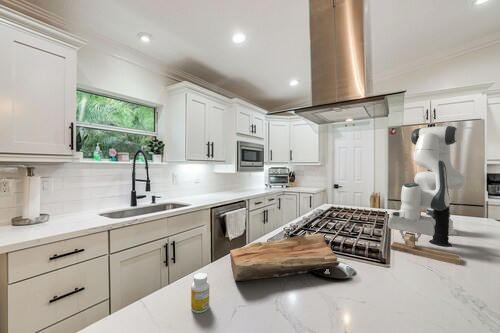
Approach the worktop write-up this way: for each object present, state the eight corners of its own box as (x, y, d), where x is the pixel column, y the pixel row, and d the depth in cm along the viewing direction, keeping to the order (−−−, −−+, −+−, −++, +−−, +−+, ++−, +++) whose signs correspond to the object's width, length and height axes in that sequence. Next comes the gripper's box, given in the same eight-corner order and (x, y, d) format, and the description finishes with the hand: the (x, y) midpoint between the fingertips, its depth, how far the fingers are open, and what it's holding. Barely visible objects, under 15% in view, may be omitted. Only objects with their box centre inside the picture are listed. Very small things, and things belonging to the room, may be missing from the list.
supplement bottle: (192, 302, 72) (192, 271, 72) (210, 301, 72) (210, 271, 72) (189, 313, 67) (189, 280, 66) (208, 313, 67) (208, 280, 67)
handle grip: (457, 247, 121) (443, 240, 131) (458, 197, 121) (444, 194, 131) (437, 246, 122) (424, 240, 132) (438, 197, 122) (425, 194, 132)
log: (324, 258, 104) (318, 225, 105) (348, 273, 87) (341, 234, 88) (233, 284, 95) (226, 248, 95) (240, 307, 78) (233, 263, 78)
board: (394, 245, 124) (394, 241, 124) (459, 259, 106) (459, 255, 106) (390, 249, 118) (390, 245, 118) (459, 265, 100) (459, 260, 100)
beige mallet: (406, 243, 124) (406, 232, 124) (415, 245, 122) (415, 233, 122) (401, 249, 116) (401, 237, 116) (411, 251, 113) (411, 239, 113)
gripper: (436, 216, 116) (435, 243, 117) (390, 210, 130) (389, 234, 131) (435, 218, 112) (434, 246, 112) (387, 212, 126) (386, 237, 126)
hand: (410, 240), depth 122 cm, fingers closed on beige mallet, 4 cm apart
